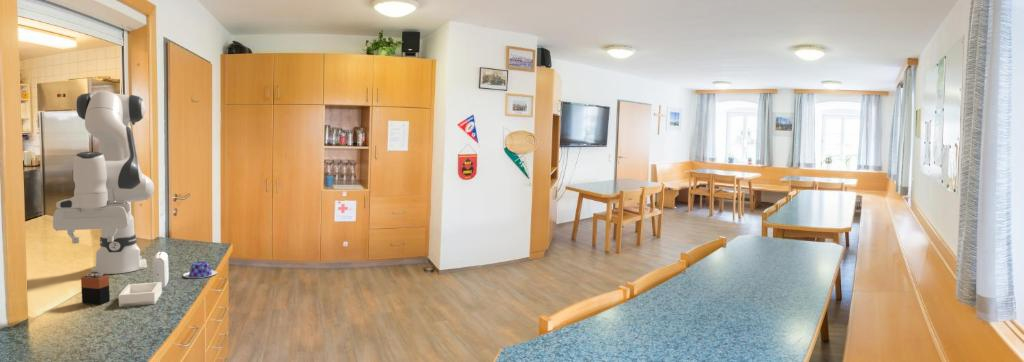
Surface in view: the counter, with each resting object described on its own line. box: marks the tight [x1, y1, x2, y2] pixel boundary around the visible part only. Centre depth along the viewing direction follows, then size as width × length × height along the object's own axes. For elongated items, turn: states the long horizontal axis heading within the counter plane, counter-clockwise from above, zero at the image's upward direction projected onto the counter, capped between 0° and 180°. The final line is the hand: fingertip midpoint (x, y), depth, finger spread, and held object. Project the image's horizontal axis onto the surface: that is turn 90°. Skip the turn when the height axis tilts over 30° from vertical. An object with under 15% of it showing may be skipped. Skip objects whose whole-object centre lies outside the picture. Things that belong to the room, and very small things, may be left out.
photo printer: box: [152, 251, 170, 289], centre depth 205 cm, size 10×4×12 cm, turn 25°
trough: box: [118, 282, 163, 308], centre depth 187 cm, size 13×10×4 cm
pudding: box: [182, 260, 218, 279], centre depth 219 cm, size 12×12×5 cm
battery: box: [80, 272, 111, 306], centre depth 183 cm, size 4×7×10 cm, turn 81°
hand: (93, 242), depth 181 cm, fingers open, 8 cm apart
